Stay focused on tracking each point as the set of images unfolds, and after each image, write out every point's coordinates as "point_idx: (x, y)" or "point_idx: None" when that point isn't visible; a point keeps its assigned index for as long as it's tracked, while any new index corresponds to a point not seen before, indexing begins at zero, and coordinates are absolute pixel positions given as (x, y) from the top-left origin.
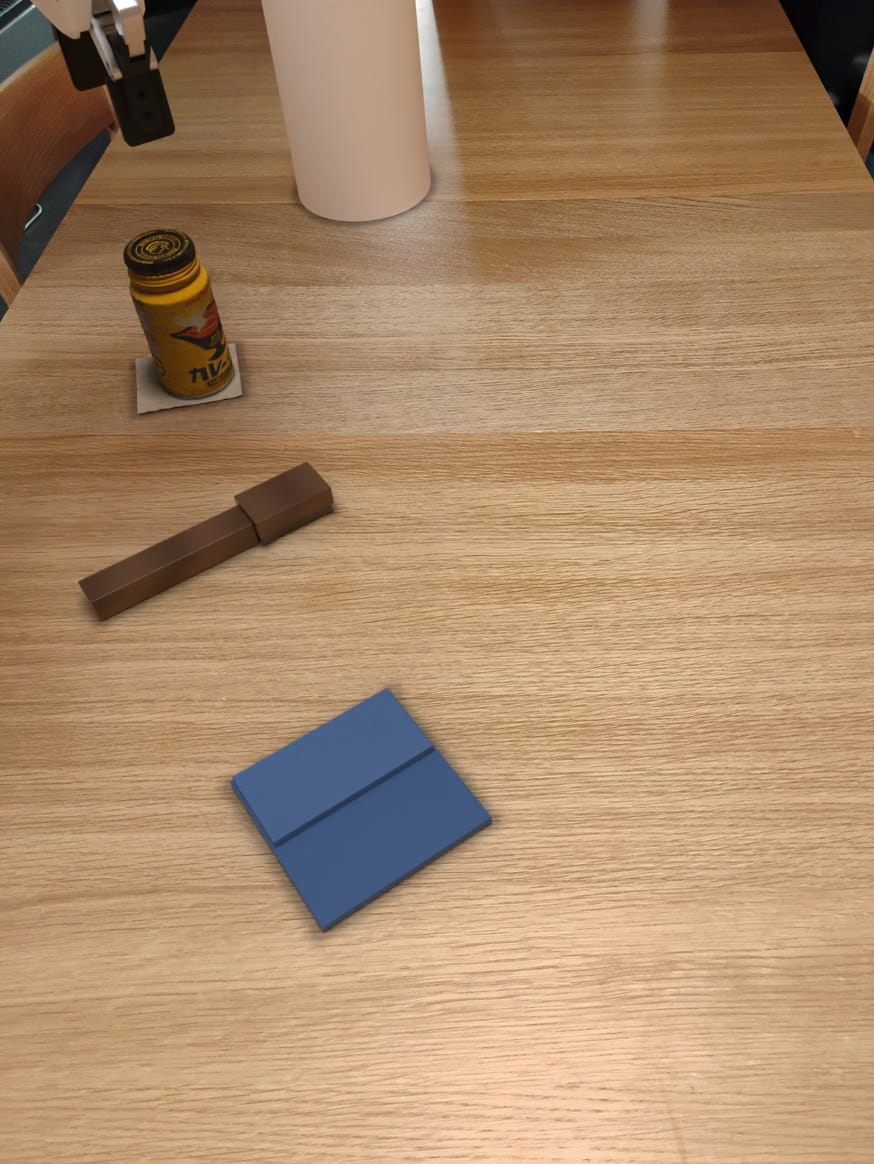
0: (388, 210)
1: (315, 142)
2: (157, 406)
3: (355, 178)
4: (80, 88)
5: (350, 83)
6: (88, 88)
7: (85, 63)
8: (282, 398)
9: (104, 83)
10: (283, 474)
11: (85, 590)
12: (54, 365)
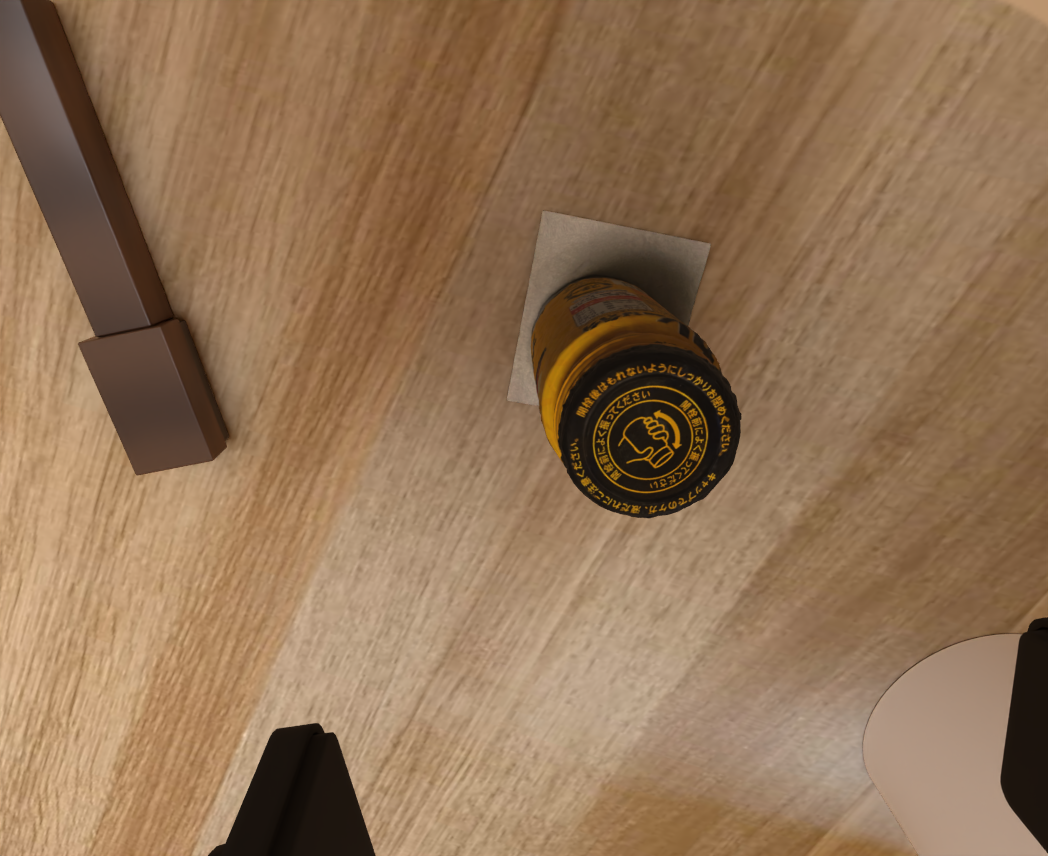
0: (870, 743)
1: None
2: (545, 251)
3: (927, 759)
4: (1027, 639)
5: None
6: (1017, 663)
7: None
8: (472, 456)
9: (1007, 731)
10: (192, 417)
11: None
12: (798, 74)
